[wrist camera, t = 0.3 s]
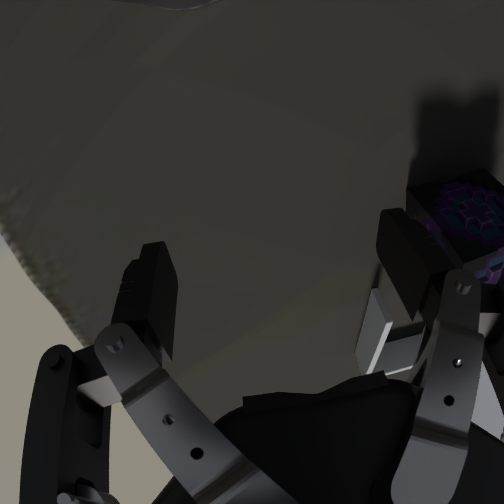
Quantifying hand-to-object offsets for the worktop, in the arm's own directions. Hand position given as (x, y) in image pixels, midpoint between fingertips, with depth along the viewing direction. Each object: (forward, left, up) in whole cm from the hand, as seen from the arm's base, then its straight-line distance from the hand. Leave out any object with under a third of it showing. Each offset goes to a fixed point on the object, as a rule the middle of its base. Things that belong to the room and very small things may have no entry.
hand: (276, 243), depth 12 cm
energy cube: (+15, +24, -18) cm, 33 cm away
